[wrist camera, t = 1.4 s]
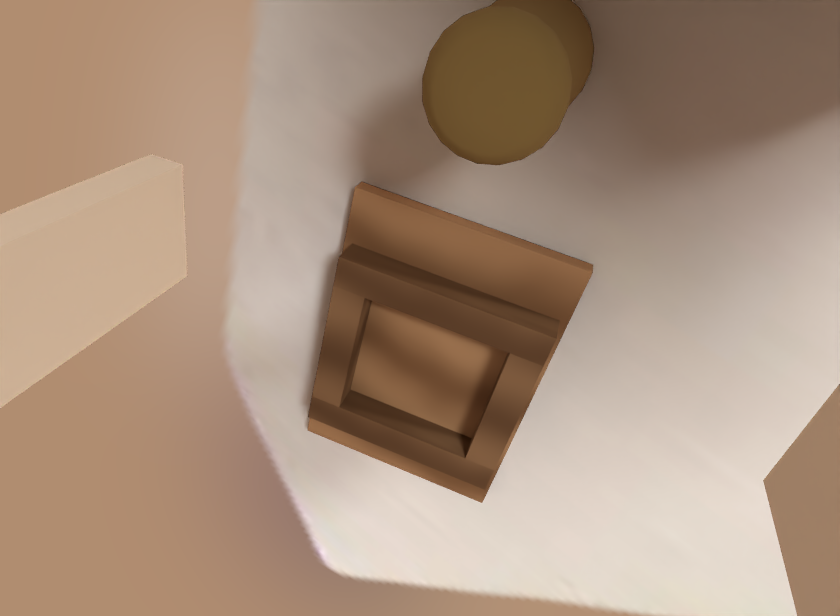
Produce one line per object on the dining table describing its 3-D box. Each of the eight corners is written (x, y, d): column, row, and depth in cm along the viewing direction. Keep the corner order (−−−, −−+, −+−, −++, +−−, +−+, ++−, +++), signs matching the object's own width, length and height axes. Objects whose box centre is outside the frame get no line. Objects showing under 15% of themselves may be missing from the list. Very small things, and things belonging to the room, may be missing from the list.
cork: (446, 83, 30) (371, 131, 21) (507, -40, 26) (449, -48, 17) (547, 144, 30) (517, 219, 21) (621, 29, 26) (623, 57, 17)
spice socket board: (361, 181, 34) (341, 198, 31) (593, 264, 32) (591, 289, 30) (313, 421, 45) (295, 448, 42) (484, 492, 43) (476, 524, 41)
